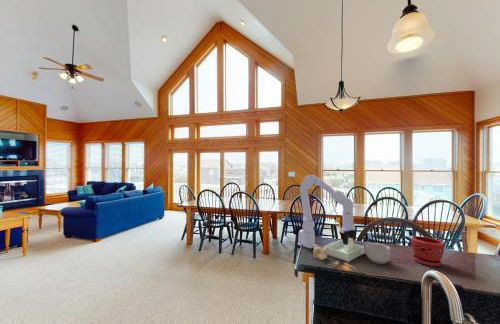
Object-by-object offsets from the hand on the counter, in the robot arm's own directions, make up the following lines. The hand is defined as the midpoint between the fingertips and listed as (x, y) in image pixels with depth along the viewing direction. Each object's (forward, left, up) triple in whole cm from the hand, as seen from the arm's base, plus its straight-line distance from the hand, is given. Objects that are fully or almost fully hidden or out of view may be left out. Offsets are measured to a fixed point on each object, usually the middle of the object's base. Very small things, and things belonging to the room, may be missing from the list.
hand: (347, 243), depth 126 cm
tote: (0, -5, -5) cm, 7 cm away
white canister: (0, 0, -4) cm, 4 cm away
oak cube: (-5, -21, -5) cm, 22 cm away
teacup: (+16, 0, -5) cm, 17 cm away
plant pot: (+33, +18, -5) cm, 38 cm away
